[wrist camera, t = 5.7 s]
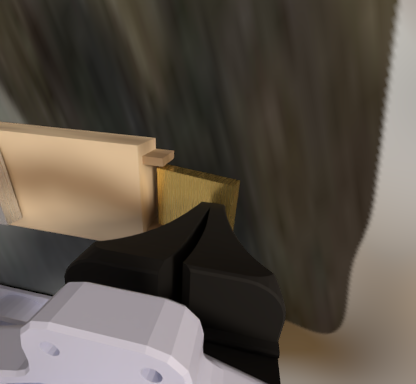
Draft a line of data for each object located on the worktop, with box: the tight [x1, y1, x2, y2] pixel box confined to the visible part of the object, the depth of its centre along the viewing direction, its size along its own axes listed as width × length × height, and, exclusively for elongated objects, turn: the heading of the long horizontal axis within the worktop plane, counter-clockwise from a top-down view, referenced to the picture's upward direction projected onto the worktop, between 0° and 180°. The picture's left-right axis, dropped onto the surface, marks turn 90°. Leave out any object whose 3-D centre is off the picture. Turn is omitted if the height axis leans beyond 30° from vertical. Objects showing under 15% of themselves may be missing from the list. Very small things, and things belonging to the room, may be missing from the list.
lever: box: [157, 164, 240, 230], centre depth 14 cm, size 4×1×5 cm
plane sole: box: [0, 122, 174, 241], centre depth 15 cm, size 7×17×2 cm, turn 86°
